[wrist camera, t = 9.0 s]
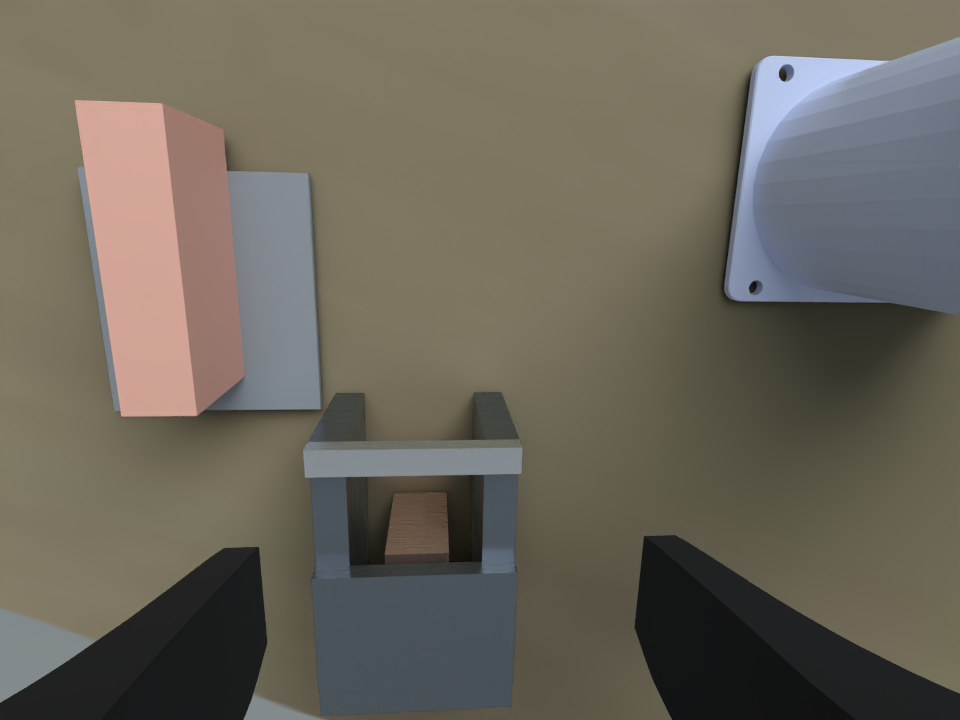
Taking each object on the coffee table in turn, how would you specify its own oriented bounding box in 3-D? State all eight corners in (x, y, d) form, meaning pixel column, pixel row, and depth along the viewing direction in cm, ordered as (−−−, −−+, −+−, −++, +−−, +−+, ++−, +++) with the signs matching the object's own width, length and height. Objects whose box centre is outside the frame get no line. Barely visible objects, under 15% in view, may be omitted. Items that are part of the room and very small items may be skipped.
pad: (310, 173, 18) (307, 173, 18) (322, 406, 20) (320, 409, 20) (83, 167, 17) (77, 167, 17) (119, 407, 19) (114, 410, 19)
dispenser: (501, 392, 20) (522, 447, 15) (494, 602, 23) (511, 709, 18) (335, 393, 20) (303, 450, 15) (345, 607, 22) (320, 719, 17)
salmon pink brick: (223, 129, 17) (162, 103, 13) (244, 376, 19) (196, 415, 15) (156, 127, 17) (74, 100, 13) (184, 376, 19) (121, 416, 15)
